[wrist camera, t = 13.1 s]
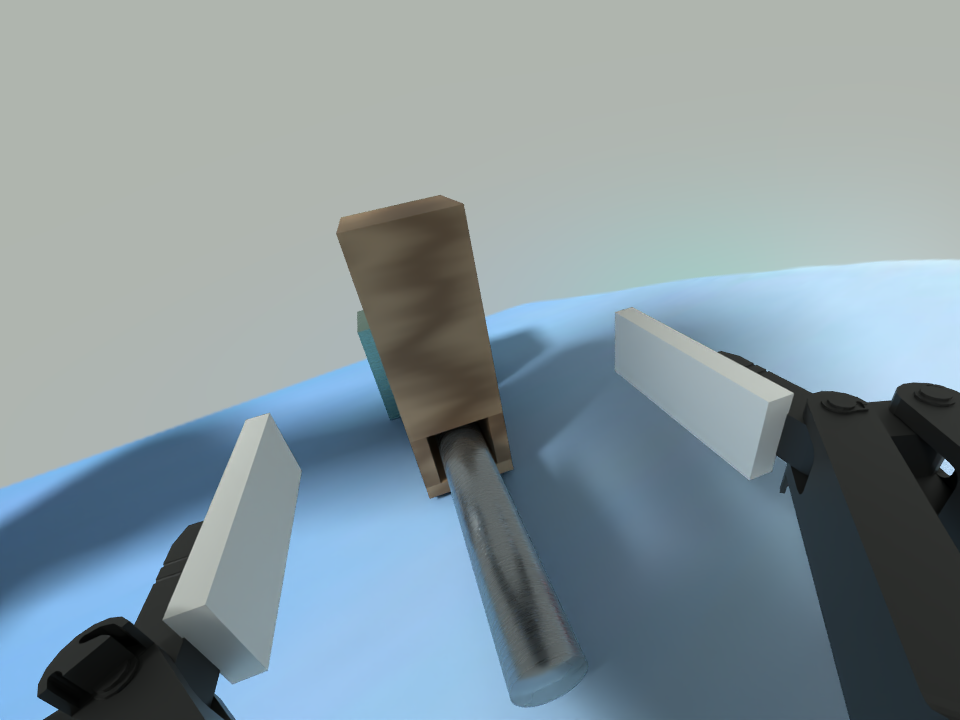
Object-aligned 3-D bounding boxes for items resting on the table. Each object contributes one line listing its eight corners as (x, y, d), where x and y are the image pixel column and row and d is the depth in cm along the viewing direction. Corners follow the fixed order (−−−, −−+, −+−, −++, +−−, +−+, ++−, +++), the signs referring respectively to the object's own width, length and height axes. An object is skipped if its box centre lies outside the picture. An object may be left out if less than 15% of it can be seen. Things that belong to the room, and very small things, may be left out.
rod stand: (437, 777, 15) (360, 667, 10) (386, 392, 40) (357, 311, 35) (666, 670, 16) (682, 534, 12) (479, 364, 41) (462, 283, 37)
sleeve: (429, 498, 26) (336, 233, 17) (417, 443, 31) (340, 217, 23) (513, 469, 27) (463, 203, 18) (488, 420, 32) (440, 194, 24)
